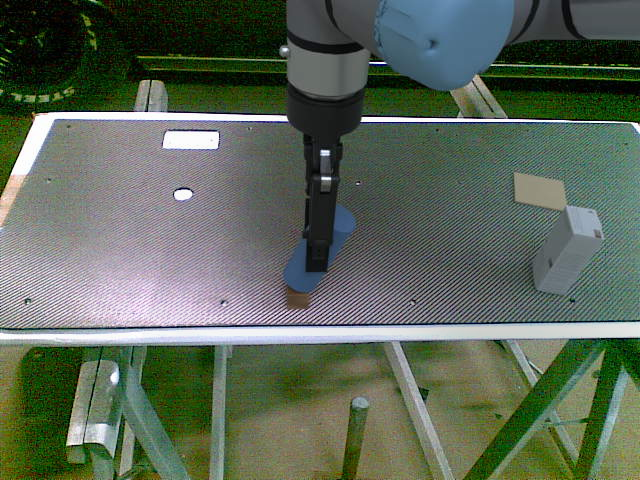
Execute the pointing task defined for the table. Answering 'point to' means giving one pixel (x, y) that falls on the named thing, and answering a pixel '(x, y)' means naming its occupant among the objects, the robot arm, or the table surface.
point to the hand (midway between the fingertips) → (315, 253)
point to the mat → (539, 191)
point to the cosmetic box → (567, 250)
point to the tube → (342, 231)
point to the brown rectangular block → (297, 299)
